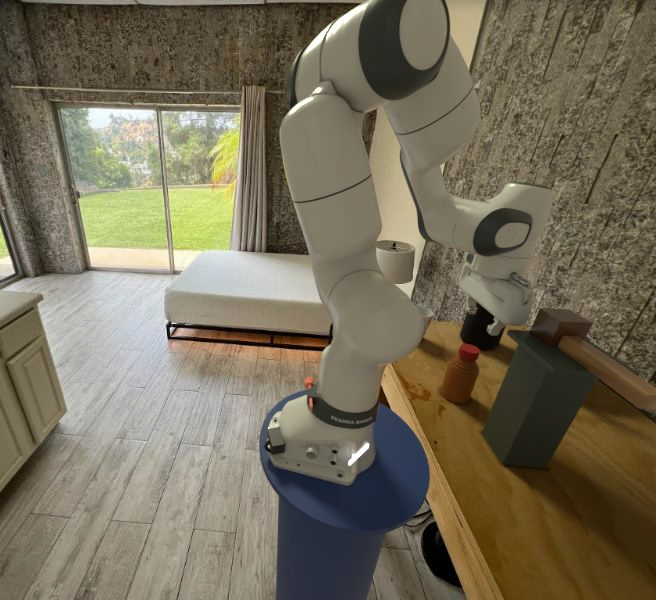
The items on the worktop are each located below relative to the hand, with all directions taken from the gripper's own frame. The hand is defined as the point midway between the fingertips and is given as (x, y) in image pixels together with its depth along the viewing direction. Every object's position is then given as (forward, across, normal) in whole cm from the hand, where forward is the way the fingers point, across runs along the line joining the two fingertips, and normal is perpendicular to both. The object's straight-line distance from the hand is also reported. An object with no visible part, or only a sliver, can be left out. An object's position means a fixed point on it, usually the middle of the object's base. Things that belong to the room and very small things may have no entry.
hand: (480, 322), depth 72 cm
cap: (+7, 0, 0) cm, 7 cm away
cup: (+21, +27, +1) cm, 35 cm away
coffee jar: (+21, +26, -19) cm, 38 cm away
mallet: (-5, -21, -4) cm, 22 cm away
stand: (+21, -17, -5) cm, 28 cm away
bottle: (+21, 0, 0) cm, 21 cm away
